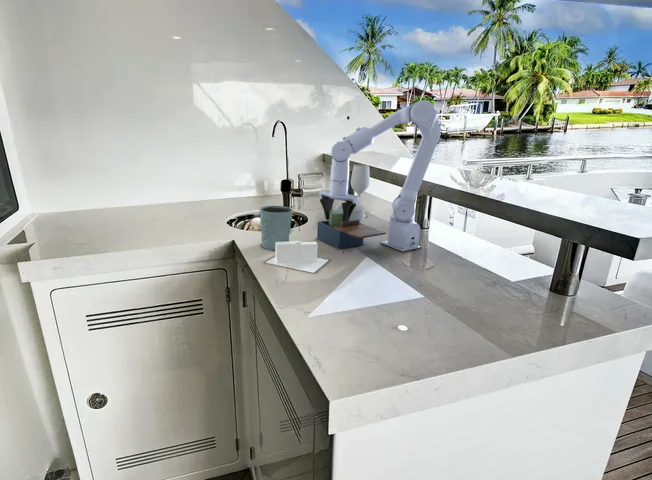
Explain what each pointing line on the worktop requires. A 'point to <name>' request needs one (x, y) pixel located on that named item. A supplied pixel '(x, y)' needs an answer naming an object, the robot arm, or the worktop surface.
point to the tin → (336, 236)
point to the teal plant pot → (275, 225)
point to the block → (335, 217)
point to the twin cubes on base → (297, 256)
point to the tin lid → (358, 229)
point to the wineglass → (360, 179)
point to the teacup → (355, 212)
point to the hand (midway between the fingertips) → (336, 221)
